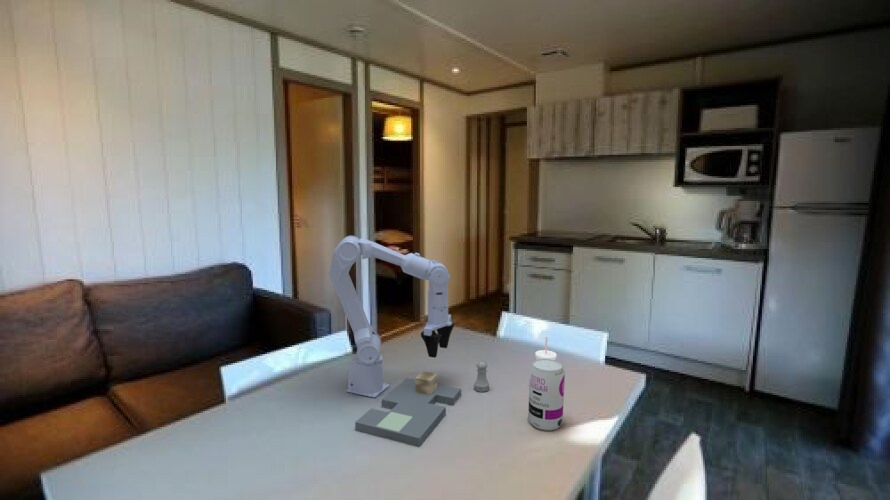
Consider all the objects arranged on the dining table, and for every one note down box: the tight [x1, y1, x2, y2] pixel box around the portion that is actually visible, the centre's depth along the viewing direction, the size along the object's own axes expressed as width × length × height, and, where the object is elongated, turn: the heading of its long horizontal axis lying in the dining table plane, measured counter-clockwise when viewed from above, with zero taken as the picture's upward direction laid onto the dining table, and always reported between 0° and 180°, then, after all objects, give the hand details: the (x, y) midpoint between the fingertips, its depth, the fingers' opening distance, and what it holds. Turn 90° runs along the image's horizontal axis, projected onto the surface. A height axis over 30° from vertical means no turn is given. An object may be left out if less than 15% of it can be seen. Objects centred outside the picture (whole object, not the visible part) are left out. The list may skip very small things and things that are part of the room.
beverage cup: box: [534, 336, 557, 361], centre depth 126 cm, size 6×6×14 cm
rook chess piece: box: [473, 360, 490, 393], centre depth 123 cm, size 4×4×8 cm
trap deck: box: [354, 377, 462, 447], centre depth 111 cm, size 17×26×2 cm, turn 157°
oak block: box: [415, 371, 438, 395], centre depth 118 cm, size 4×4×4 cm
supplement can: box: [527, 359, 566, 432], centre depth 105 cm, size 8×8×15 cm
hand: (438, 352), depth 124 cm, fingers open, 7 cm apart
